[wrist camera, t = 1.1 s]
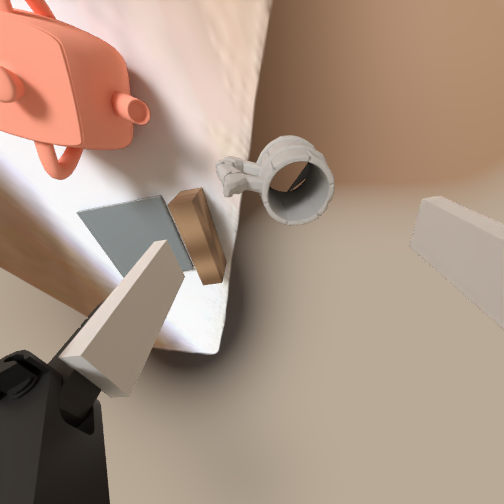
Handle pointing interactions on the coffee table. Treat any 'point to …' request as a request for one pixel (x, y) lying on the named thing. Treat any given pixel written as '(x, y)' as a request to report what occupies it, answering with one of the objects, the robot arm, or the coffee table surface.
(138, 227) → the plate
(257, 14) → the coffee table surface
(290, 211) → the mug
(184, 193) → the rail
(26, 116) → the teapot
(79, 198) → the coffee table surface
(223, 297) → the coffee table surface
